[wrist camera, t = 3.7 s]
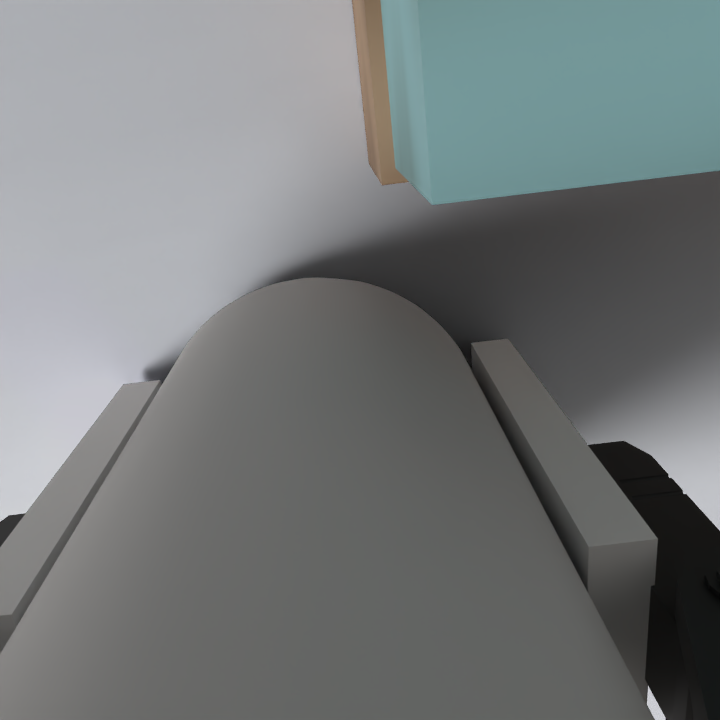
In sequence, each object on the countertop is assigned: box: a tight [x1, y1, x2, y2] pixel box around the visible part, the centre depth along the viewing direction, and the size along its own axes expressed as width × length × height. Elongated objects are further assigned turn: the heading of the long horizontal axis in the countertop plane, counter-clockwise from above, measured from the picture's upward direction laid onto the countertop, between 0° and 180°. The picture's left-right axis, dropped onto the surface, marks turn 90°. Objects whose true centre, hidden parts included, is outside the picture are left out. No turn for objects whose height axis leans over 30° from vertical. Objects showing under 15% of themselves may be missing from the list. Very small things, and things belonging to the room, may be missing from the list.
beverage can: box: [0, 277, 655, 720], centre depth 8 cm, size 6×6×12 cm
